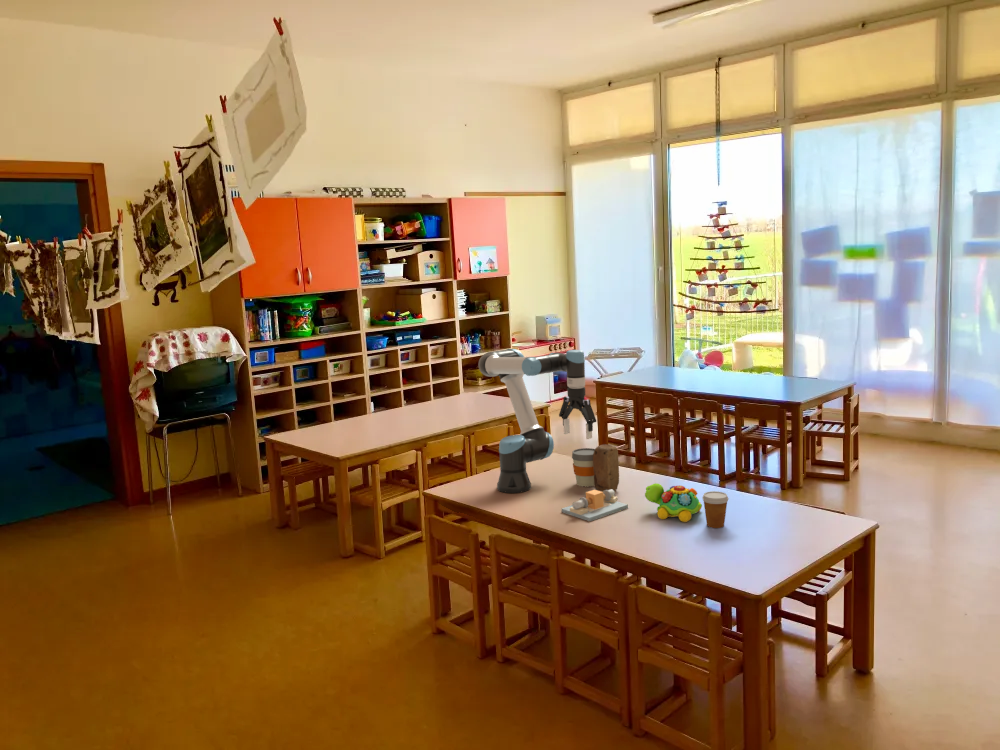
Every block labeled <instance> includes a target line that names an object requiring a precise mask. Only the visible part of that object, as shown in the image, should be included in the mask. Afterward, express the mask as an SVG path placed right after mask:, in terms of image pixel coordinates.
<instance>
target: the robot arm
mask: <svg viewBox="0 0 1000 750" xmlns="http://www.w3.org/2000/svg"><path fill="white" fill-rule="evenodd" d="M585 361H586V359H585V352H584V351H583V350H581V349H569V350H567V351H566V352H565V353H561V352H550V353H549V354H546V355H540V356H524V354H523V353H522V352H521V351H520V350H519V349H517V348H507V349H502V350H501V349H500V350H494V351H487V352H485V353H484V354H482V356H481V357H480V358H479V360H478V364H477V365H478V369H479V371H480V373H481V374H482V375H483V376H485V377H489V378H491V377H499V379H500V382H501V383H504V384H505V386H506V390H507V393H508V397H509V398H510V402H511V405H512V407H513V411H514V414H515V417H516V420H517V423H518V426H519V428H520V434H512V435H508V436H507V435H506V436H505V437H503V438H501V439H500V441H499V444H498V445H499V448H498V453H499V471H500V473H499V476H498V479H497V480H498V481H497V483H496V484H497V485H496V489H497V491H499V492H501V493H505V494H518V493H524V492H527V491H529V490H530V489H531V488H532V487H531V486H532V484H531V480H530V477H529V475H528V472H527V463H532V462H536V461H541V460H544V459H547V458H549V457H550V456H551V455H552V454H553V452H554V447H555V446H554V445H555V444H554V438H553V436H552V434H550V432H547V431H545V429H544V427H543V426H541V425H540V424H539V421H538V419H537V416H536V413H535V411H534V407H533V404H532V401H531V399H530V395H529V392H528V390H527V387H526V384H525V381H524V378H523V377H524V375H525V376H528V377H530V376H532V377H533V376H538V375H543V374H549V373H556V372H565V373H566V385H567V388H566V390H567V392H566V393H567V396H566V395H565V396H564V397H563V401H562V405H561V407H560V411H559V413H558V417H559V418H561V419H562V425H563V434H564V435H568V434H570V433H571V432H570V431H571V430H570V429H571V428H570V427H571V426H570V425H571V424H570V417H569V416H570V415H571V413H572V411H573V410H574V409H576V410H578V411H580V413H581V414H582V417H583V418H584V420H585V422H586V423H585V437H586V438H585V439H586V440H590V439H593V430H594V429H593V428H594V427H593V425H594V423H597V418H596V416H595V413H594V411H593V408H592V405H591V400H590V399H585V396H586V387H585V386H586V369H585V367H586V366H585V365H586V364H585Z"/></svg>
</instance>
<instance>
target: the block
mask: <svg viewBox="0 0 1000 750" xmlns="http://www.w3.org/2000/svg"><path fill="white" fill-rule="evenodd" d="M594 449H595V450H594V453H593V469H594V486H593V487H594V488H595V490H598V491H601V492H603V491H604V490H610V489H613V490H614V492H616V491H617V490H618V487H619V484H620V464H619V462H620V461H619V451H618V448H617V446H614V445H611V444H606V443H603V444H600V445H599V446H598V445H597V446H596V447H595V448H594Z"/></svg>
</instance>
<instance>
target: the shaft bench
mask: <svg viewBox="0 0 1000 750" xmlns="http://www.w3.org/2000/svg"><path fill="white" fill-rule="evenodd" d="M615 492H616V491H615ZM615 492H614V490H613V489H610V490H604V491H603V494H605V496H606V498H605V500H604V506H603V507H600V508H597V509H592V508H589V507H588V501H587V499H586V497H584V496H583V497H580V498H579V500H578V501H574V502H573V503H572V504H571V505H568V506H566V507H562V508H561V512H562V514H566V515H570V516H572V517H574V518H579V519H581V520H583V521H586V520H587V522H589V521H590V522H592V521H595V520H598V519H601V518H603V517H607V516H609V514H610V515H613V514H615V513H618V512H621V511H624V510H626V508H627V509H629V505H628V504H627V503H624V502H620V501H618V496H615V495H616V493H615ZM623 509H624V510H623ZM620 510H621V511H620ZM612 513H613V514H612Z"/></svg>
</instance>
